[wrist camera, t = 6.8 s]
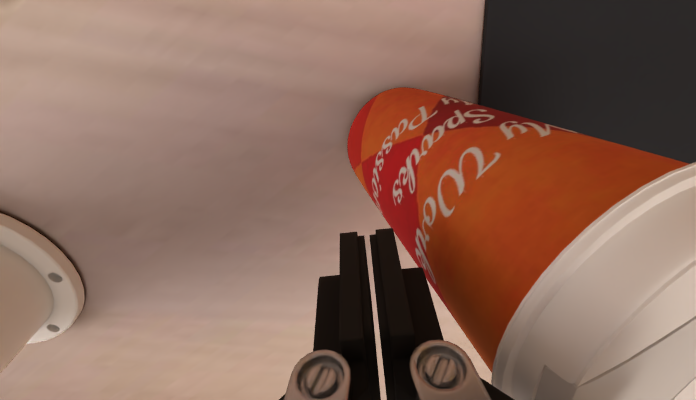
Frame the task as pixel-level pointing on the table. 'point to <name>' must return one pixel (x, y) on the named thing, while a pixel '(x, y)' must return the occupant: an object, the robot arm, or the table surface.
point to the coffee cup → (541, 244)
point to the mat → (596, 69)
